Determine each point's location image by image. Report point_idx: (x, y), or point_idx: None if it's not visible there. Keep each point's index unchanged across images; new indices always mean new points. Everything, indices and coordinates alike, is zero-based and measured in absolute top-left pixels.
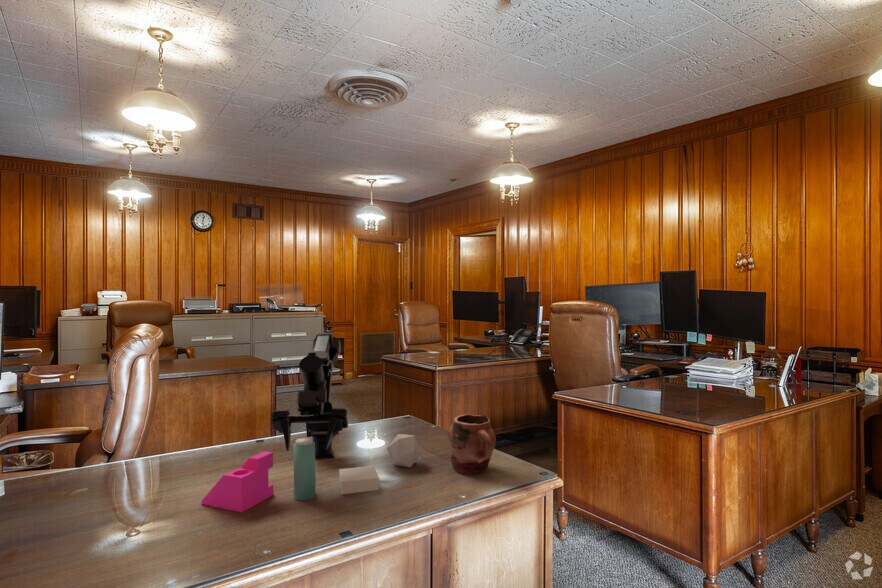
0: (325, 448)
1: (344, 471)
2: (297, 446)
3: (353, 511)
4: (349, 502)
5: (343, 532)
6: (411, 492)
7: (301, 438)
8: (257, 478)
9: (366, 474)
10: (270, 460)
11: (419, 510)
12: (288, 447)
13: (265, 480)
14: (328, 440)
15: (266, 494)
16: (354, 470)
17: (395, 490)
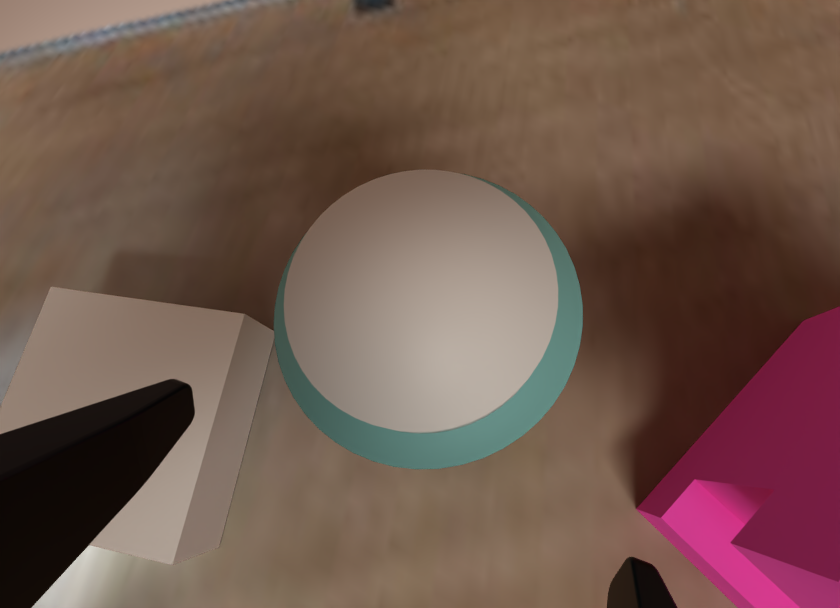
0: (188, 392)
1: (160, 493)
2: (529, 214)
3: (293, 138)
4: (276, 226)
5: (378, 4)
6: (11, 226)
7: (441, 420)
8: (834, 387)
9: (76, 369)
10: (804, 523)
11: (88, 70)
12: (623, 600)
13: (745, 458)
14: (80, 409)
15: (688, 463)
16: None
17: (49, 274)
